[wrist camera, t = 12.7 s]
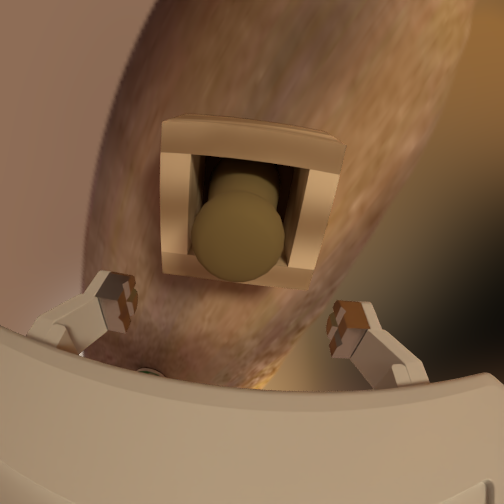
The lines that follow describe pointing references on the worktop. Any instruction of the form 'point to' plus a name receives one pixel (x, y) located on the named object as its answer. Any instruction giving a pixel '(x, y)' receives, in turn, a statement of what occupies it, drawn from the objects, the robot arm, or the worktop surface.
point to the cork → (240, 221)
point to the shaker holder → (256, 149)
